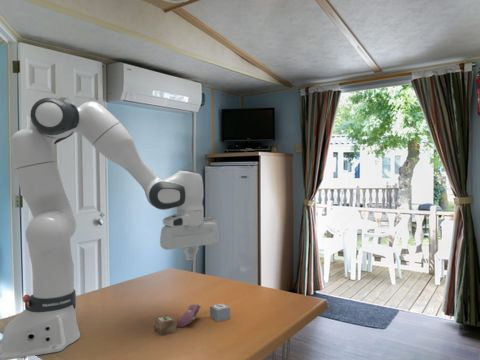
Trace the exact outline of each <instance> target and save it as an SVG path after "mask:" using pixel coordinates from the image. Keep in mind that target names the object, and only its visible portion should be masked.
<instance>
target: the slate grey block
mask: <svg viewBox="0 0 480 360" xmlns="http://www.w3.org/2000/svg"><path fill="white" fill-rule="evenodd" d="M209 318H211V319H212V320H214V321H215V322H218V323H219V322H222V321H227V320H229V319H231V307H230V306H228V305H226V304H225V303H218V304H214V305H210V306H209Z"/></svg>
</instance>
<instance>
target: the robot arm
mask: <svg viewBox="0 0 480 360" xmlns="http://www.w3.org/2000/svg"><path fill="white" fill-rule="evenodd" d="M29 117H30V120H31V124H32V125H31V126H29V127H27V128H22V129H20V130H18V131H16V132H15V133H14V134H12V137H11V139H10V148H11V149H10V150H11V156H12V157H11V158H12V162H13V167H14V170H15V174H16V178H17V181H18V185H19V190H20V193H21V196H22V198H23V199H24V201H25V202H26V204H27V206H28V208H29V211H30V213H31V214H32V217H33V218H32V219H31V220H30V222H29V223H28V225H27V227H26V229H25V239H26V242H27V246H28V253H29V258H30V262H31V270H32V294H31V295H29V294H24V295H23V296H22V303H24V308H25V309H23V311H22V312H20V313H19V314H17V315H16V316H15V317H14V318H13V319H11V320H10V321H9V322H8V323H7V324H6V326H5V328H4V330H3V334H2V338H1V339H0V360H16V359H22V358H28V357H34V356H39V355H45V354H52V353H58V352H61V351H63V350H64V349H65V348H66V347H68V346H70V344H72V343H75V342H77V340H79V338H80V337H81V332H80V330H79V326H78V321H77V315H76V308H77V307H76V306H77V293H76V290H75V276H74V275H75V274H74V273H75V272H74V270H75V269H74V265H75V264H74V261H73V256H72V254H73V253H72V247H71V245H72V244H71V238H72V237H73V236H74V234H75V232H76V229H77V222H76V218H75V215H74V212H73V209H72V206H71V204H70V200H69V197H68V196H67V194H66V190H65V188H64V186H63V181H62V178H61V175H60V171H59V167H58V164H57V160H56V156H55V151H54V145H56V144H58V143H60V142H61V141H64V140H66V139H68V138H70V136H72V135H73V134H74V133H77V134H79V135H82V136H83V137H84V138H85V139H86V140H87V141H88V142H89V143H90V144H91V145H92V146H93V148H94V149H95V150H96V151H98V152H99V153H100V154H101V155H102V156H104V157H105V158H107V159H108V160H109V161H111V162H113V163H114V164H116V165H118V166H120V167H121V168H122V169H124V170H125V171H127V173H128V174H129V175H130V176H131V177H132V178H133V179H134V181H136V182H137V183H138V184H139V185H140V186H141V187H142V189H143V190H144V193H145V196H146V200H147V201H148V203H149V204H150V205H151V206H153V207H154V208H156V209H157V210H162V211H164V210H165V211H166V210H170V209H174V208H176V212H175V213H174V214H172V215H169V216H167V217H164V218H162V224H163V225H164V226H163V227H162V228H161V231H160V239H159V245H160V248H161V249H163V250H165V251H167V250H175V249H181V250H182V251H183V253H184V255H185V260H186V261H195V260H196V257H197V256H196V255H197V253H198V251H199V250H200V249H199V248H200V246H207V245H216V244H218V242H219V241H220V240H219V239H220V236H219V229H218V226H219V225H218V224H219V222H218V219H217V218H215V217H214V216H209V217H208V216H206V217H204V215H205V214H204V205H203V200H204V181H203V177H202V175H201V174H200V173H199V172H198V171H194V170H188V169H179V170H178V171H177V172H175V173H174V174H172V175H170V176H168V177H165V178H161V177H159V176H158V175H157V174H155V172H154V171H153V170H152V168H150V166H149V165H148V164H147V163H145V161H144V160H143V158H142V157H141V155H140V154H139V152H138V150H137V147H136V145H135V141H134V138H132V136H131V135H130V133H129V132H128V130H127V129H126V127H125V126H124V125H123V124H122V123H121V121H120V120H119V119H118V118H116V117H115V115H114V114H112V112H110V111H109V110H108V109H106V108H105V106H103V105H102V104H100V103H98V102H96V101H92V100H91V101H86V102H84V103H82V104H81V105H79V106H78V107H77V106H76V105H75V104H73V103H71V102H67V101H65V100H63V99H60V98H56V97H43V98H41V99H39V100H37V101H35V103H34V104H33V105H32V107H31V109H30V114H29ZM190 248H192V252H191V253H189V249H190Z"/></svg>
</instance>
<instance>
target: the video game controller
mask: <svg viewBox="0 0 480 360" xmlns="http://www.w3.org/2000/svg"><path fill="white" fill-rule="evenodd" d="M200 309H201V306H200V305H199V304H196V303H194V304H191V305H189V306H188V308H187V311H186V312H184V313H185V314H184V315H182V316H181V317H180V318H179V319H177V321H176V322H175V324H176V327H178V328H182V327H185V326H186V325H188V326H190V324H191V323H192V322H194V320H195V319H196V316H197V314H199V311H200Z"/></svg>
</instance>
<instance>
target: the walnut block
mask: <svg viewBox="0 0 480 360" xmlns="http://www.w3.org/2000/svg"><path fill="white" fill-rule="evenodd" d="M176 327H177V325H176V319H175V318H173V316H171V315H165V316H159V317H155V318H154V331H155V332H156V333H157V334H158V336H159V337H163V336H167V335H171V334H175V333H176Z"/></svg>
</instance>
